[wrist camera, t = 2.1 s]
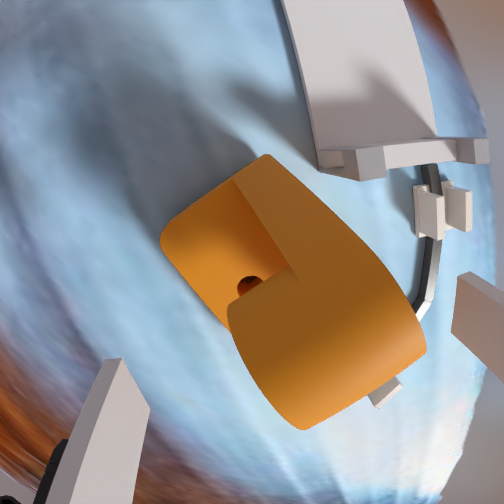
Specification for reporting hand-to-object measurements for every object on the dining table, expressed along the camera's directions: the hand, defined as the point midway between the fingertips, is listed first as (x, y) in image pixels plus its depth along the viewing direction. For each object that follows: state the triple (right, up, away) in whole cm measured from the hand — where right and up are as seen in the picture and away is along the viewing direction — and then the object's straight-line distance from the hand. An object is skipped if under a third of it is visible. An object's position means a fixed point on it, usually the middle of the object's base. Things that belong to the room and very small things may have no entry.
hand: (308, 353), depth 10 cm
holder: (+5, +17, +5) cm, 18 cm away
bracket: (-1, +3, +9) cm, 10 cm away
